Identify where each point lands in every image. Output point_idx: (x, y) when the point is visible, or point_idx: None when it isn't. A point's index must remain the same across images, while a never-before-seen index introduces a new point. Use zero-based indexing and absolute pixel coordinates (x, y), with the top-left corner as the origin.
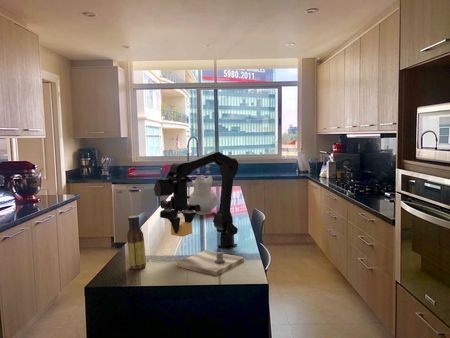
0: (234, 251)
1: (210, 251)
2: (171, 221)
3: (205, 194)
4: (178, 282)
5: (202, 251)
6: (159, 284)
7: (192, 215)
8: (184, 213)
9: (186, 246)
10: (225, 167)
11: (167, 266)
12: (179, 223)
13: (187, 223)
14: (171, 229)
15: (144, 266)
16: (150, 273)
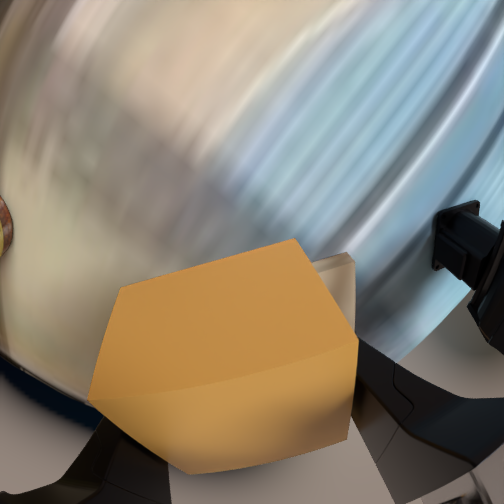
0: (417, 298)
1: (349, 293)
2: (81, 483)
3: None
4: None
5: (326, 271)
6: (51, 380)
7: (393, 491)
8: (439, 477)
9: (366, 62)
10: None
11: (93, 290)
12: (217, 437)
13: (291, 452)
14: (109, 338)
15: (6, 249)
16: (27, 308)
